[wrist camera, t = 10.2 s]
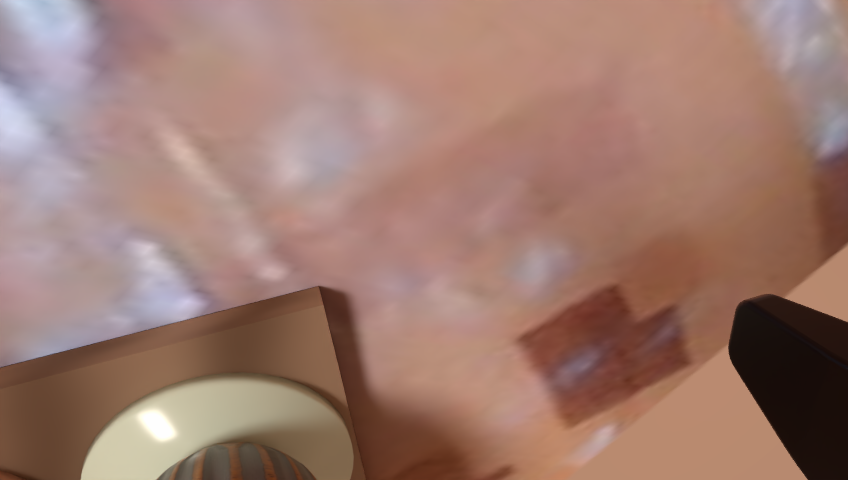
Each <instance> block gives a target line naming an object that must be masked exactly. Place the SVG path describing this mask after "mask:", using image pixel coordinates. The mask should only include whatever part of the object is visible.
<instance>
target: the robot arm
mask: <svg viewBox="0 0 848 480" xmlns="http://www.w3.org/2000/svg"><path fill="white" fill-rule="evenodd" d="M728 349H729V355H730V359H731V361H732V364H733V366H734V367H735V369H736V370H737V372H738V374H739V375H740V377H741V379H742V380H743V382H744V383H745V385H746V386H747V388H748V390H749V391H750V393H751V394H752V396H753V398H754V399H755V401H756V402H757V404H758V405H759V407H760V408H761V410H762V412H763V413H764V415H765V417H766V418H767V420H768V421H769V423H770V424H771V426H772V428H773V429H774V431H775V432H776V434H777V436H778V437H779V439H780V440H781V442H782V443H783V445H784V447H785V448H786V450H787V451H788V453H789V454H790V456H791V457H792V458H793V460H794V461H795V463H796V464H797V466H798V467H799V468H800V470H801V471H802V472H803V474H804V475H805V477H806V478H807V479H808V480H848V322H846V321H843V320H841V319H838V318H835V317H833V316H830V315H827V314H824V313H822V312H819V311H816V310H814V309H811V308H809V307H806V306H803V305H801V304H798V303H795V302H792V301H790V300H787V299H785V298H782V297H779V296H776V295H773V294H764V295H760V296H757V297H753V298H750V299H747V300H744V301H742V302H740V303H739V305H738V306H737V308H736V311H735V316H734V321H733V326H732V331H731V335H730V340H729V346H728Z"/></svg>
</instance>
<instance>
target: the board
mask: <svg viewBox="0 0 848 480" xmlns="http://www.w3.org/2000/svg"><path fill="white" fill-rule="evenodd" d="M241 372H244V373H259V374H266V375H272V376H278V377H282V378H285V379H289V380H292V381H295V382H297V383H300V384H302V385H305V386H307V387H309V388H311V389H312V390H314V391H316V392H317V393H319V394H321V395H322V396H323V397H324V398H326V399H327V400H328V401H329V402H331V403H332V405H333V406H334V407H335V408H336V409H337V410H338V411H339V413H340V414H341V416H342V418H343V420H344V421H345V423H346V426H347V429H348V432H349V435H350V439H351V443H352V448H353V455H354V460H353V470H352V475H351V479H350V480H366V477H365V473H364V469H363V465H362V461H361V457H360V453H359V449H358V444H357V440H356V436H355V432H354V428H353V424H352V420H351V416H350V412H349V408H348V403H347V399H346V395H345V391H344V387H343V383H342V379H341V375H340V371H339V366H338V362H337V358H336V354H335V350H334V346H333V342H332V338H331V334H330V330H329V325H328V321H327V317H326V313H325V309H324V305H323V301H322V297H321V294H320V290H319V286H318V287H314V288H310V289H306V290H302V291H298V292H294V293H290V294H286V295H283V296H279V297H275V298H271V299H267V300H263V301H259V302H255V303H251V304H247V305H244V306H240V307H236V308H232V309H228V310H224V311H220V312H216V313H212V314H208V315H205V316H201V317H197V318H193V319H189V320H185V321H181V322H177V323H173V324H169V325H165V326H162V327H158V328H154V329H150V330H146V331H142V332H138V333H134V334H130V335H126V336H123V337H119V338H115V339H111V340H107V341H103V342H99V343H95V344H91V345H87V346H84V347H80V348H76V349H72V350H68V351H64V352H60V353H56V354H52V355H48V356H45V357H41V358H37V359H33V360H29V361H25V362H21V363H17V364H13V365H9V366H5V367H2V368H0V471H3V472H7V473H10V474H12V475H15V476H18V477H20V478H23V479H25V480H81V474H82V468H83V462H84V459H85V457H86V454H87V451H88V449H89V447H90V446H91V444H92V442H93V440H94V439H95V437H96V436H97V434H98V433H99V432H100V431H101V430H102V428H103V427H104V426H105V425H106V424H107V423H108V422H109V421H110V420H111V419H112V418H113V417H114V416H115V415H117V414H118V413H119V412H120V411H122V410H123V409H124V408H126V407H127V406H129V405H130V404H131V403H133V402H135V401H136V400H138V399H140V398H142V397H143V396H145V395H147V394H149V393H151V392H153V391H156V390H158V389H160V388H163V387H165V386H167V385H171V384H174V383H177V382H180V381H183V380H186V379H191V378H195V377H200V376H204V375H212V374H220V373H241Z"/></svg>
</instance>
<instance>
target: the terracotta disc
mask: <svg viewBox="0 0 848 480" xmlns="http://www.w3.org/2000/svg"><path fill="white" fill-rule="evenodd" d="M0 480H25V479H23V478H20V477H18V476H15V475H12V474H10V473H7V472H3V471H0Z"/></svg>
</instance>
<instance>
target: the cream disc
mask: <svg viewBox="0 0 848 480" xmlns="http://www.w3.org/2000/svg"><path fill="white" fill-rule="evenodd" d="M229 442H249V443H255V444H260V445H264V446H268V447H271V448H274V449H277V450H279V451H282V452H284V453H286V454H288V455H289V456H291V457H292V458H294V459H296V460H297V461H299V462H300V463H302V464H303V465H304V466H305V467H306V468H307V469H308V470H309V471H310V472H311V473H312V474H313V475H314V476H315V477H316V479H317V480H350V479H351V475H352V470H353V460H354V455H353V448H352V443H351V439H350V435H349V432H348V429H347V426H346V423H345V421H344V420H343V418H342V416H341V414H340V413H339V411H338V410H337V409H336V408H335V407H334V406H333V405H332V403H331V402H329V401H328V400H327V399H326V398H324V397H323V396H322V395H321V394H319V393H317V392H316V391H314V390H312V389H311V388H309V387H307V386H305V385H302V384H300V383H297V382H295V381H292V380H289V379H285V378H282V377H278V376H272V375H266V374H259V373H244V372H241V373H220V374H212V375H204V376H200V377H195V378H191V379H186V380H183V381H180V382H177V383H174V384H171V385H167V386H165V387H163V388H160V389H158V390H156V391H153V392H151V393H149V394H147V395H145V396H143V397H142V398H140V399H138V400H136V401H135V402H133V403H131V404H130V405H129V406H127V407H126V408H124V409H123V410H122V411H120V412H119V413H118V414H117V415H115V416H114V417H113V418H112V419H111V420H110V421H109V422H108V423H107V424H106V425H105V426H104V427H103V428H102V430H101V431H100V432H99V433H98V434H97V436H96V437H95V439H94V440H93V442H92V444H91V446H90V447H89V449H88V451H87V454H86V457H85V459H84V462H83V468H82V474H81V480H156V479H157V478H158V477H159V476H160V475H161V474H162V473H163V472H165V471H166V470H167V469H168V468H169V467H171V466H172V465H174V464H175V463H177V462H178V461H180V460H182V459H183V458H185V457H187V456H189V455H191V454H193V453H195V452H197V451H199V450H201V449H204V448H207V447H210V446H213V445H217V444H222V443H229Z"/></svg>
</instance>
